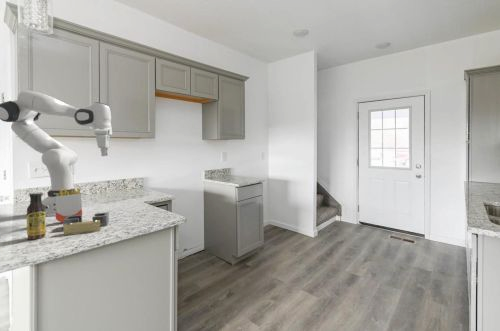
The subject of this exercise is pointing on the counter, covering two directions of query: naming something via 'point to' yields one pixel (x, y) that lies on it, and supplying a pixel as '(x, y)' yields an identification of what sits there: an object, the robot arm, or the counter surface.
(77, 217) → the chain end left
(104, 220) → the chain end right
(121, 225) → the counter surface
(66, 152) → the robot arm
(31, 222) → the sauce bottle
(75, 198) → the french fries container
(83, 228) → the link
